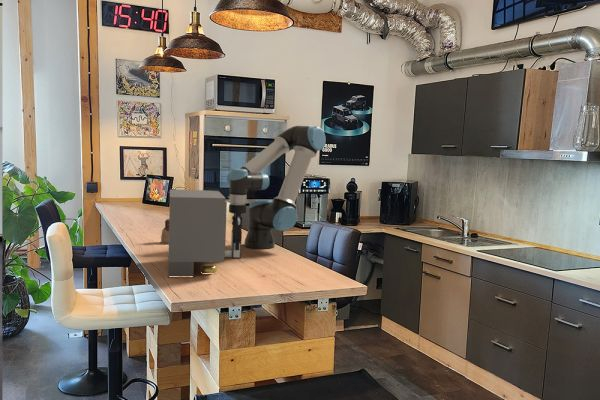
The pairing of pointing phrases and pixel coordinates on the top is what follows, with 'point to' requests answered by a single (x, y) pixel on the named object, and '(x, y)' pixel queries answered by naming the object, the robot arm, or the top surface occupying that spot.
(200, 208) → the cabinet
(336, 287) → the top surface
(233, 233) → the grey l-shaped bracket
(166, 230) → the figurine
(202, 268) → the gold bowl
